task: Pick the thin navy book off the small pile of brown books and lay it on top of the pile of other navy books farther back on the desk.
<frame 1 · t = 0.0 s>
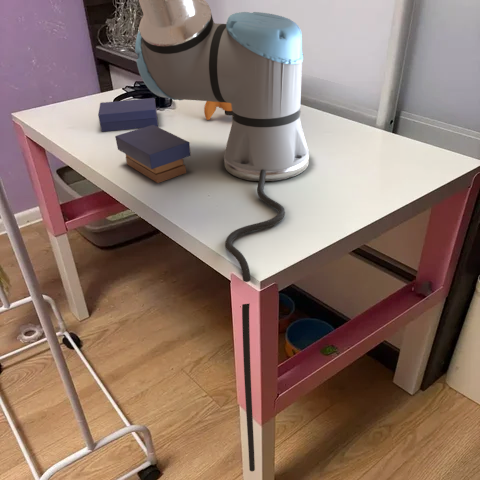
brown pile: (156, 168, 93), on the table
navy pile: (130, 122, 113), on the table
navy book: (153, 152, 91), point 3 cm above the table, touching brown pile
toy rocket: (226, 119, 112), on the table
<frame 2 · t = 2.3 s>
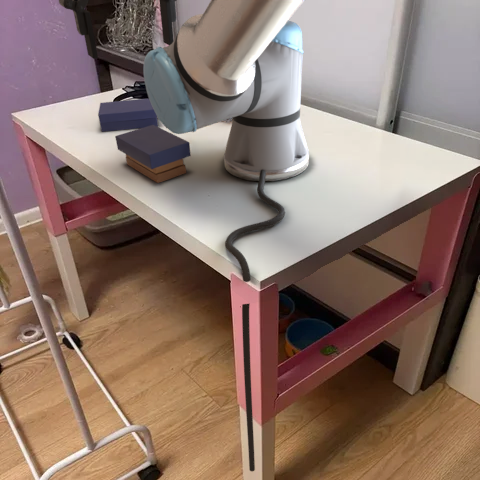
hand: (132, 50, 86), 18 cm above the table, tool pointing down, fingers open, 13 cm apart
nothing on the table moved.
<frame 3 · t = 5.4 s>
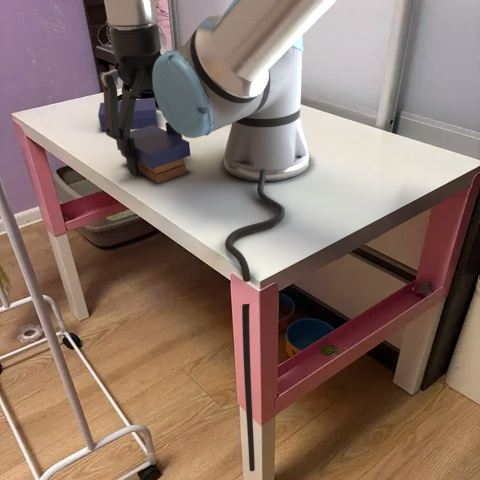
hand: (155, 166, 93), 0 cm above the table, tool pointing down, fingers closed on navy book, 8 cm apart
navy book: (153, 152, 91), point 3 cm above the table, touching brown pile, gripper
everything else where it was.
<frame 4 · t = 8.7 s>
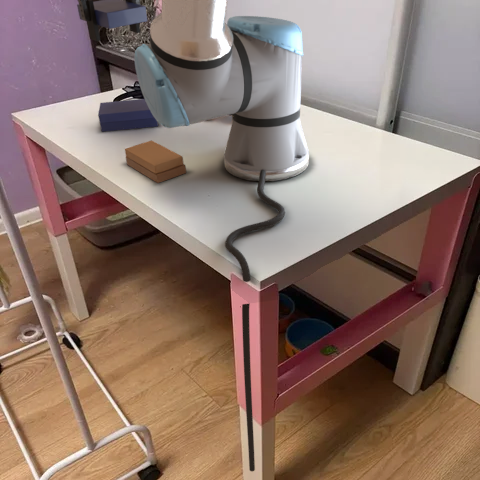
hand: (115, 35, 99), 18 cm above the table, tool pointing down, fingers closed on navy book, 8 cm apart
navy book: (113, 20, 97), point 20 cm above the table, touching gripper
everything else where it was.
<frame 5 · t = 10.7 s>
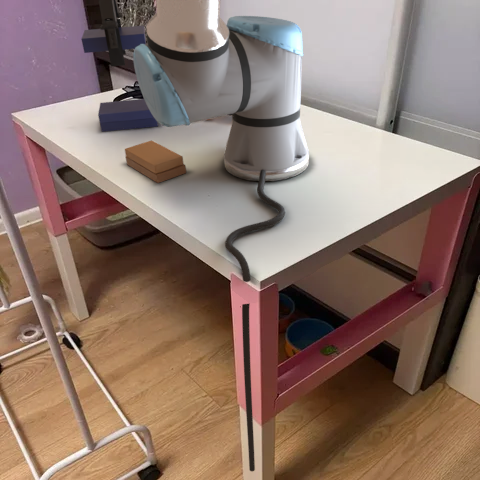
hand: (118, 59, 104), 13 cm above the table, tool pointing down, fingers closed on navy book, 8 cm apart
navy book: (116, 45, 103), point 15 cm above the table, touching gripper
everything else where it was.
when the fingers open (4 cm above the table, at t = 12.4 s): navy book drops 3 cm, resting on navy pile.
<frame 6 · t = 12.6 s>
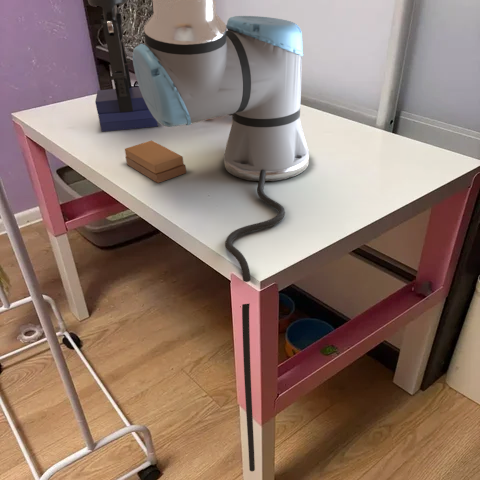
hand: (126, 103, 110), 4 cm above the table, tool pointing down, fingers open, 9 cm apart
navy book: (126, 105, 110), point 4 cm above the table, touching navy pile
everything else where it was.
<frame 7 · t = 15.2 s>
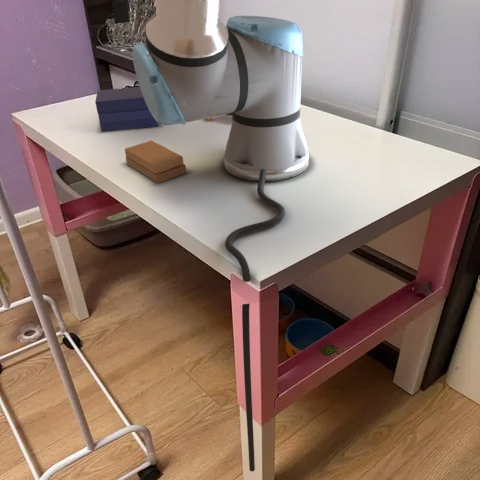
hand: (123, 16, 98), 20 cm above the table, tool pointing down, fingers open, 13 cm apart
nothing on the table moved.
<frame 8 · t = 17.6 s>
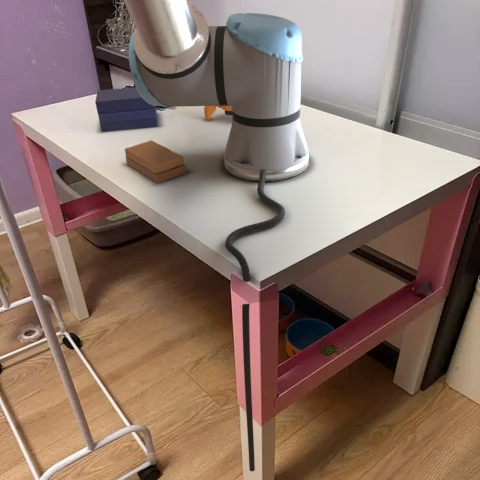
nothing on the table moved.
at the end: navy book 0.3 cm off-centre on the navy pile, point 3.6 cm above the navy pile's base; navy book tilted 0°; the gripper is holding nothing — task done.
